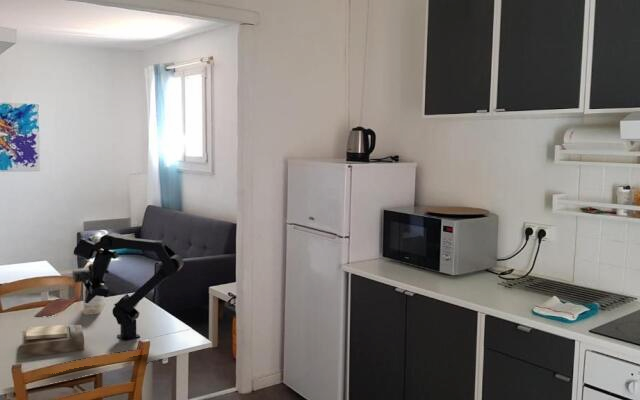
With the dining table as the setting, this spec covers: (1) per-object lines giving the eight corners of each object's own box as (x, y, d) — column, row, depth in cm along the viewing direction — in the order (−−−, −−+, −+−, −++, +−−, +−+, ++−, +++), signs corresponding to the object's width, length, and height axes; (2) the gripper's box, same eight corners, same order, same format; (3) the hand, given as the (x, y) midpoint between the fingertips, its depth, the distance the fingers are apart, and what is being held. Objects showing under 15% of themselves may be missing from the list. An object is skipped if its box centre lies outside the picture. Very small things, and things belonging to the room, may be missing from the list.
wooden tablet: (55, 300, 261) (55, 297, 261) (77, 300, 262) (77, 297, 262) (30, 318, 235) (30, 314, 235) (55, 318, 236) (55, 314, 235)
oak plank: (65, 328, 209) (66, 325, 209) (67, 336, 200) (67, 333, 200) (26, 330, 203) (26, 327, 203) (25, 339, 194) (25, 336, 194)
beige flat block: (81, 336, 214) (81, 322, 213) (84, 349, 200) (83, 334, 200) (22, 343, 205) (22, 328, 204) (21, 357, 192) (21, 342, 191)
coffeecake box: (88, 304, 254) (87, 261, 253) (105, 303, 256) (104, 261, 254) (82, 314, 240) (81, 269, 238) (100, 313, 242) (99, 268, 240)
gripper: (72, 251, 213) (58, 289, 215) (85, 272, 199) (70, 312, 201) (101, 256, 220) (87, 292, 222) (116, 276, 206) (101, 315, 208)
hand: (86, 302), depth 213 cm, fingers closed
